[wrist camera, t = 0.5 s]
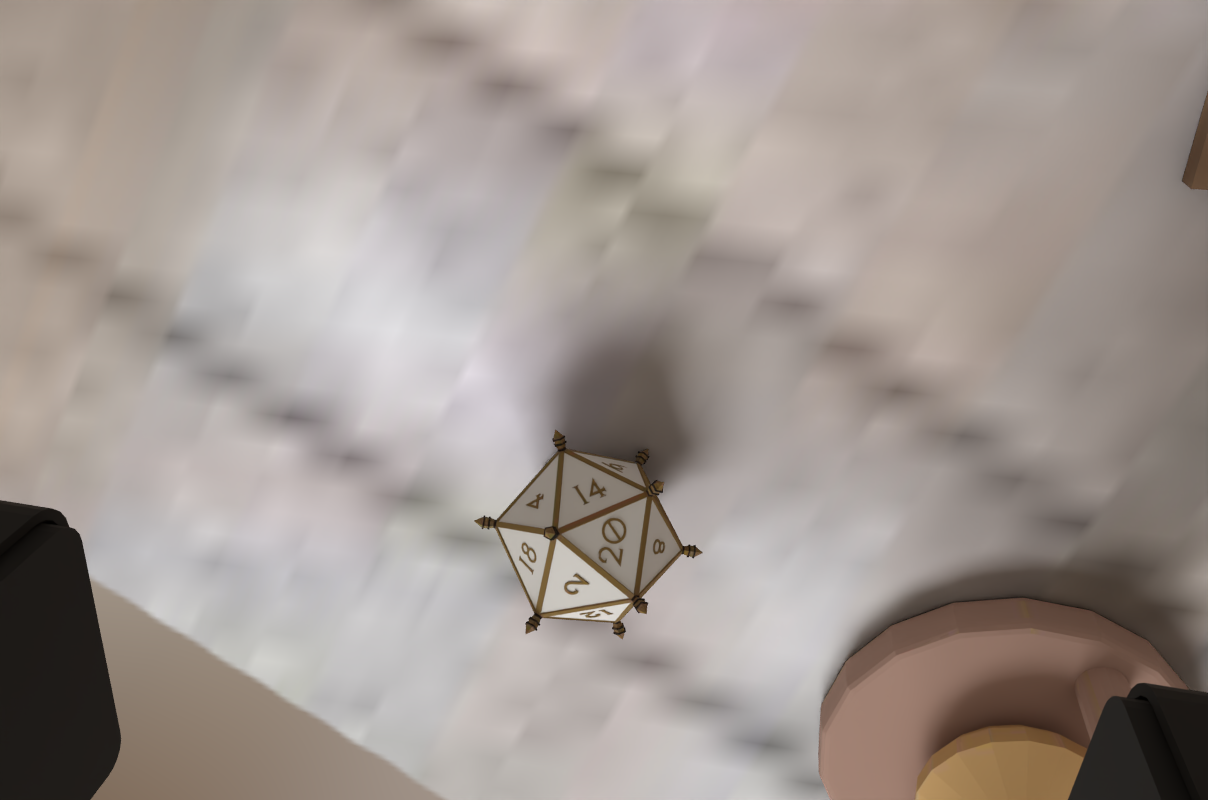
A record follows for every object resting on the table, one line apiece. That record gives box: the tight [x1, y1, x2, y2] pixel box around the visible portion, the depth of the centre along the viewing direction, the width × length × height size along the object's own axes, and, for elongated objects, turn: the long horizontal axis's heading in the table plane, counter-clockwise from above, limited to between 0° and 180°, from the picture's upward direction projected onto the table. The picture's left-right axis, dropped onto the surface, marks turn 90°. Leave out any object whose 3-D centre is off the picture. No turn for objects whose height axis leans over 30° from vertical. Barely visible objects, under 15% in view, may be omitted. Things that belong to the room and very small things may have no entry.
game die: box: [475, 430, 702, 639], centre depth 45 cm, size 9×8×10 cm
